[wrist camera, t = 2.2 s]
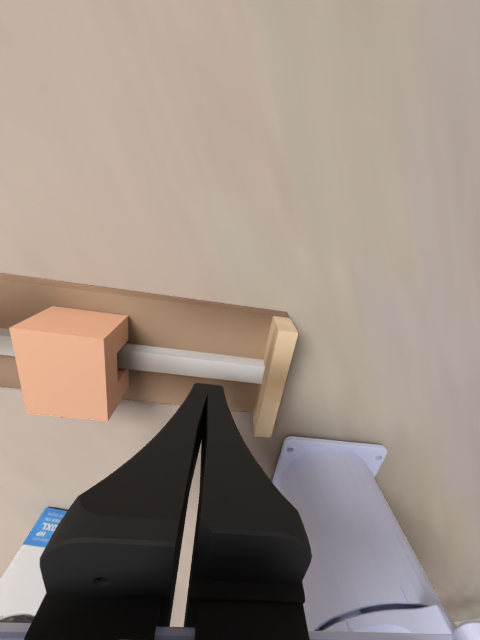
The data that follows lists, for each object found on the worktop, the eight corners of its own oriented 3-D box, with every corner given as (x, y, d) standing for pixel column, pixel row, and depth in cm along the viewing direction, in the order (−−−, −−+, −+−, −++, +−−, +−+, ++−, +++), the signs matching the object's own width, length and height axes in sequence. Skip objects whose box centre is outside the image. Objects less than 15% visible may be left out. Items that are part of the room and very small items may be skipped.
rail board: (264, 403, 18) (274, 460, 14) (-107, 364, 16) (-226, 415, 12) (286, 312, 15) (306, 347, 11) (-154, 251, 14) (-325, 267, 9)
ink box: (45, 503, 22) (-148, 799, 11) (105, 516, 22) (-18, 803, 11) (35, 558, 24) (-125, 835, 14) (88, 567, 25) (-22, 836, 14)
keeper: (128, 386, 16) (108, 421, 13) (61, 379, 16) (26, 413, 13) (128, 315, 14) (103, 339, 11) (52, 305, 14) (9, 327, 11)
